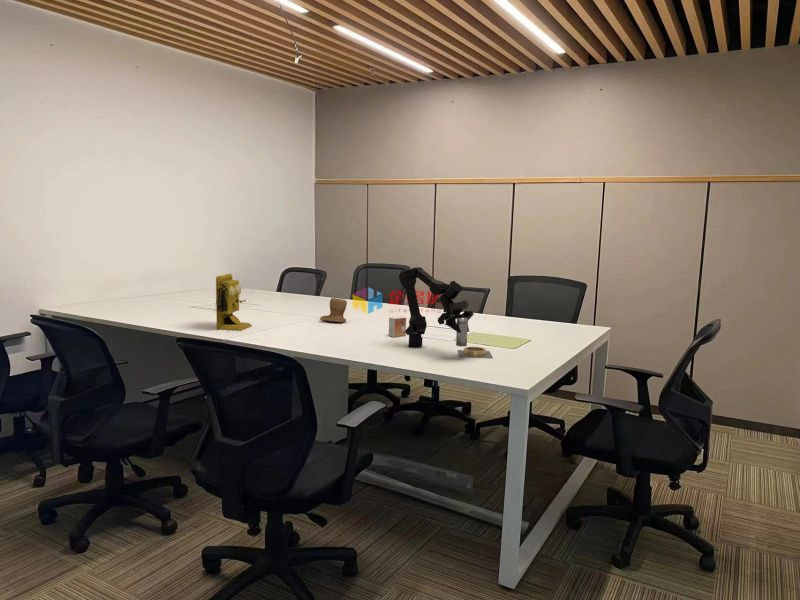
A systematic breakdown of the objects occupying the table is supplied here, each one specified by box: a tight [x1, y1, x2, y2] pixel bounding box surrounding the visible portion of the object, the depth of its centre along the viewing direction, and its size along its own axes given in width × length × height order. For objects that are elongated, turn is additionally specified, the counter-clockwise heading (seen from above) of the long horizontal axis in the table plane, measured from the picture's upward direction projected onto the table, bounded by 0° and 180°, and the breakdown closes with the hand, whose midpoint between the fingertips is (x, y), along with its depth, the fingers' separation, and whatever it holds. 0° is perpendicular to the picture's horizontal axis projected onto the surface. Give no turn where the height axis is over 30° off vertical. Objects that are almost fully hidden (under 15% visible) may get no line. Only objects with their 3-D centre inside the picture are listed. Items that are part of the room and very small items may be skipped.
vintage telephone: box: [214, 273, 253, 332], centre depth 336 cm, size 31×14×30 cm, turn 171°
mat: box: [456, 349, 494, 360], centre depth 287 cm, size 16×16×1 cm
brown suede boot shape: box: [319, 297, 348, 323], centre depth 367 cm, size 15×12×15 cm
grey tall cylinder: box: [455, 317, 469, 348], centre depth 276 cm, size 5×5×13 cm
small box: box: [388, 316, 407, 338], centre depth 328 cm, size 8×6×10 cm
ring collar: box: [463, 346, 487, 357], centre depth 287 cm, size 10×10×2 cm
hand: (464, 331), depth 275 cm, fingers closed on grey tall cylinder, 5 cm apart
